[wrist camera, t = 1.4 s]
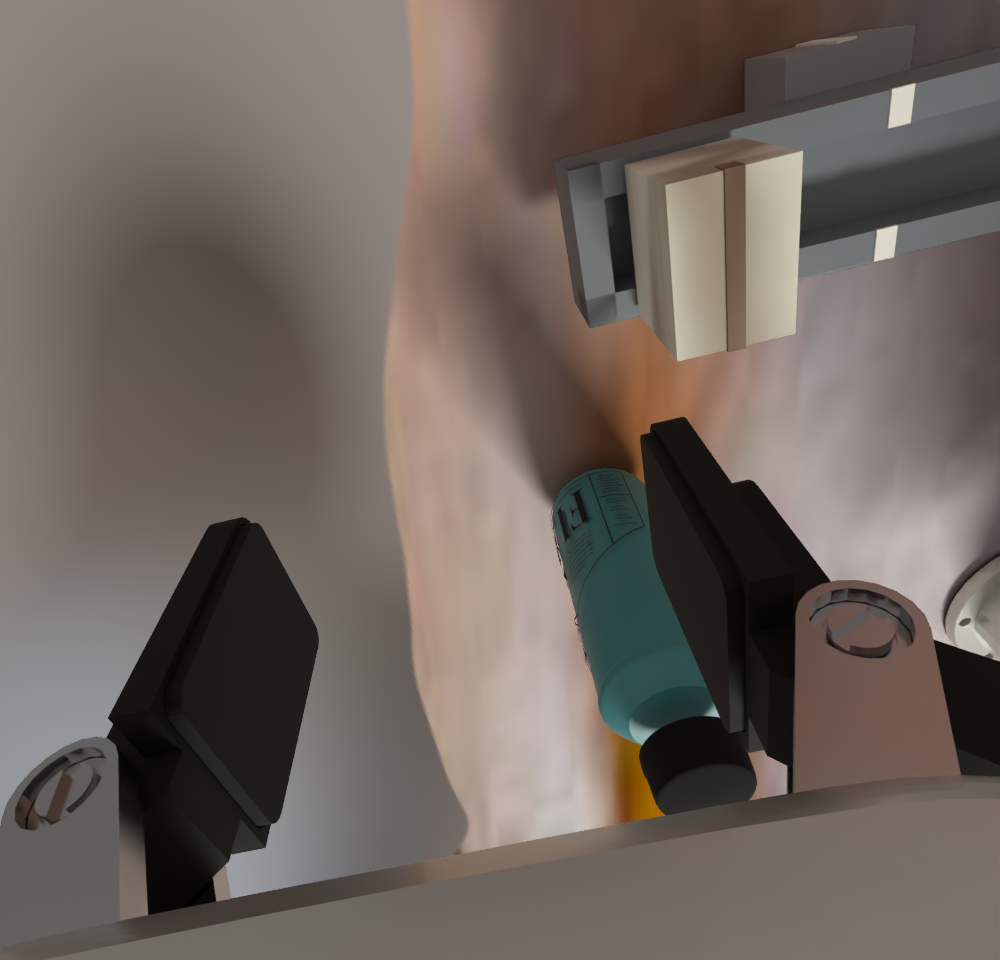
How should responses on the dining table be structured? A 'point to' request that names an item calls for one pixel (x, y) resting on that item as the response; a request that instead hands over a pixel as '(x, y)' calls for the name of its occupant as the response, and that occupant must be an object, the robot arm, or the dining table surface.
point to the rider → (717, 244)
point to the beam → (820, 160)
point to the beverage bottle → (643, 647)
